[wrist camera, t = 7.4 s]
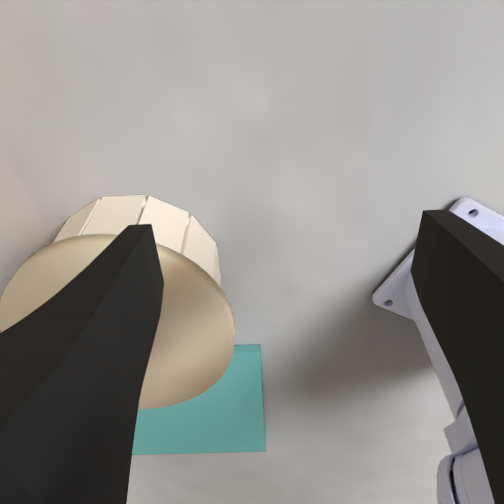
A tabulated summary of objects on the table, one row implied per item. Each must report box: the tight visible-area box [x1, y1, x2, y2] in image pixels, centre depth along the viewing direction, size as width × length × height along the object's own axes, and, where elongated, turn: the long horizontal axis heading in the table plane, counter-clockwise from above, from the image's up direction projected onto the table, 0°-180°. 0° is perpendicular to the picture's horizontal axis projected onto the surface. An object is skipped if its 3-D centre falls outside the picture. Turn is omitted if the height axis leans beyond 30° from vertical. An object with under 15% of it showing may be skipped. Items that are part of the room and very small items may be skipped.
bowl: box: [53, 195, 221, 286], centre depth 24 cm, size 9×9×4 cm
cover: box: [0, 234, 235, 409], centre depth 20 cm, size 11×11×5 cm
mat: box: [132, 345, 266, 455], centre depth 33 cm, size 12×12×1 cm
